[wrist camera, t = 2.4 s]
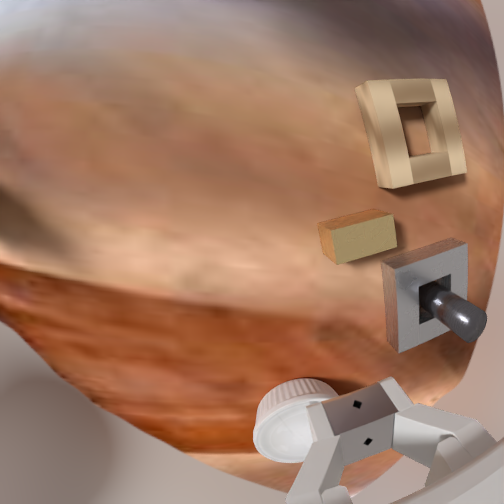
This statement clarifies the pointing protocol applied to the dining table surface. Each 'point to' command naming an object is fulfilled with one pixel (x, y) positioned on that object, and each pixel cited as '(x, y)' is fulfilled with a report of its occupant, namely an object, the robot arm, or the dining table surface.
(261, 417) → the ramekin
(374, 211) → the bar
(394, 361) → the dining table surface
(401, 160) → the block
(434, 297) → the dark grey rounded rod
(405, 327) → the socket plate
